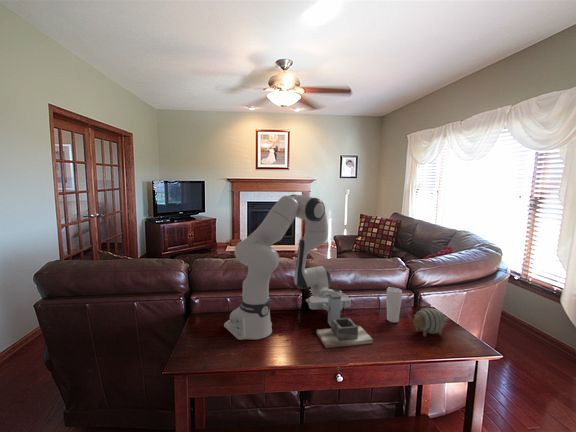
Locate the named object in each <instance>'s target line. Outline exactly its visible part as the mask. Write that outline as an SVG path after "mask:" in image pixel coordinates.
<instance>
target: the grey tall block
mask: <svg viewBox="0 0 576 432" xmlns="http://www.w3.org/2000/svg"><path fill="white" fill-rule="evenodd" d="M328 306H330V307H331V311H327V324H328V325H329V326H330V328H331V327H332V319H337V318H341V311H342V310H341V296H340V295H339V294H338V293H329V297H328Z"/></svg>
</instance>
